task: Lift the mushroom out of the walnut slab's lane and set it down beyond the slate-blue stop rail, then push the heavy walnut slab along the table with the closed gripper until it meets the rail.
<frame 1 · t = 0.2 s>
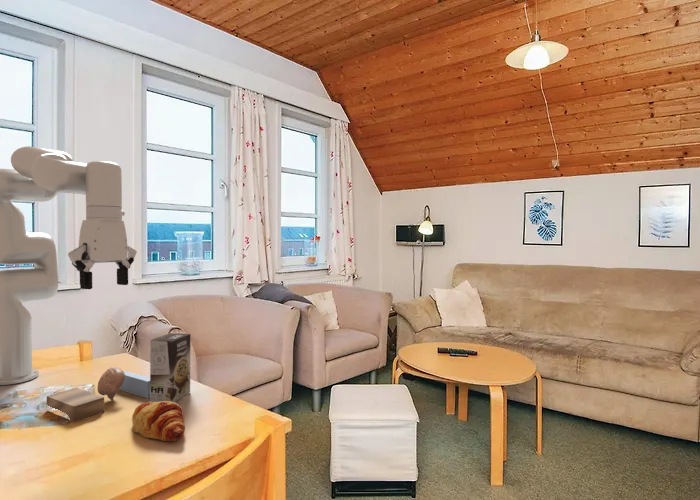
hand: (105, 286, 110), 30 cm above the table, tool pointing down, fingers open, 9 cm apart
stop rail: (136, 392, 124), on the table
croissant: (159, 430, 102), on the table
slab: (75, 413, 110), on the table
coffee box: (170, 398, 121), on the table
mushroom: (111, 400, 118), on the table
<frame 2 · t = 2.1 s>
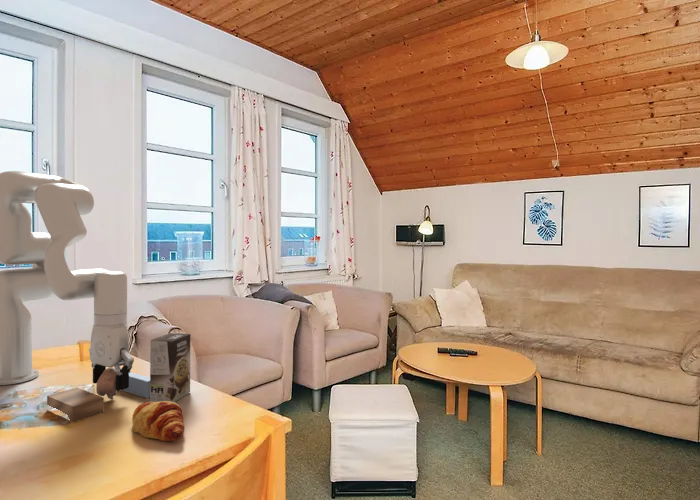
hand: (110, 385, 118), 4 cm above the table, tool pointing down, fingers open, 9 cm apart
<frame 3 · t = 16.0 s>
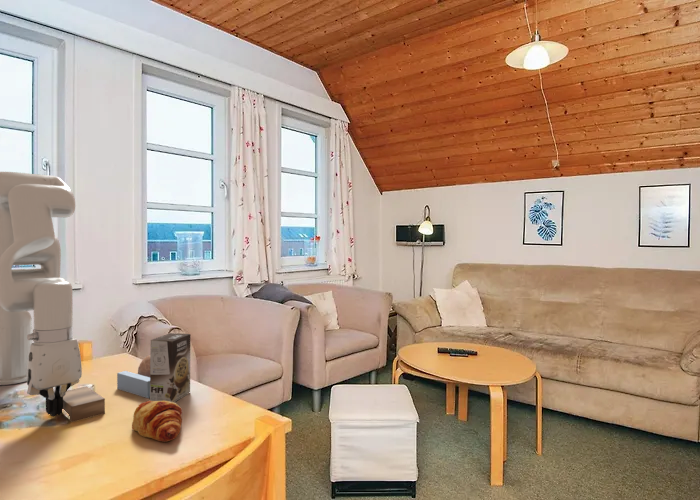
hand: (54, 414, 106), 1 cm above the table, tool pointing down, fingers closed
slab: (79, 412, 111), on the table, touching gripper
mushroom: (150, 384, 131), on the table
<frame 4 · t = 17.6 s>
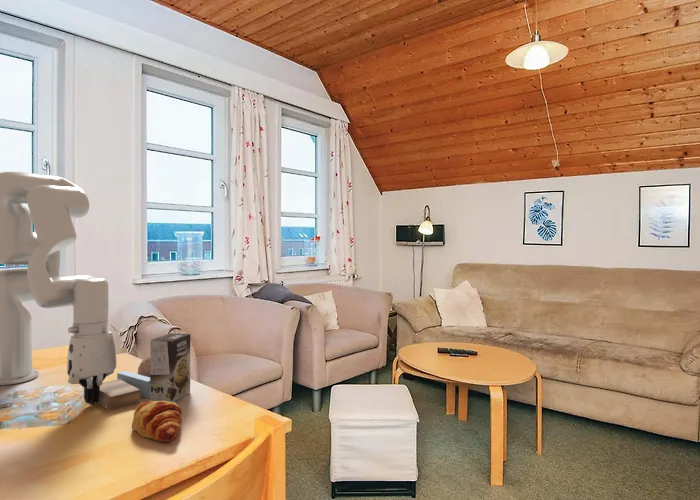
hand: (92, 402, 114), 1 cm above the table, tool pointing down, fingers closed
slab: (115, 402, 118), on the table
everything else where it was.
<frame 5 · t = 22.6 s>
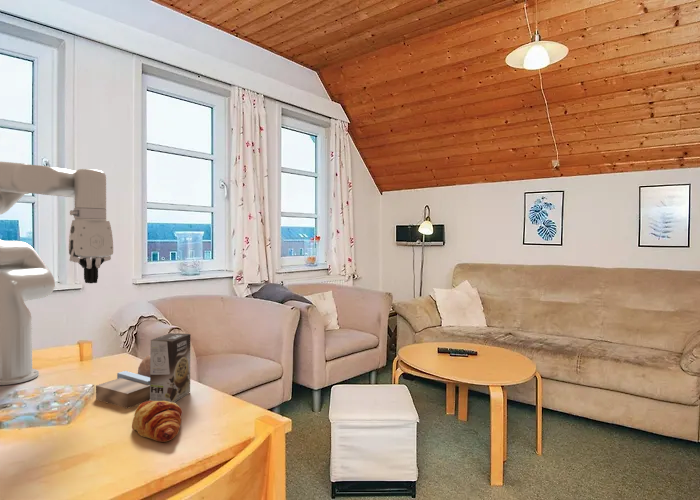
hand: (91, 282, 126), 29 cm above the table, tool pointing down, fingers closed
slab: (123, 400, 119), on the table
everything else where it was.
at the end: slab inside the target area (2.1 cm from its centre), on the table; slab tilted 0°; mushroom inside the target area (0.6 cm from its centre), on the table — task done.
